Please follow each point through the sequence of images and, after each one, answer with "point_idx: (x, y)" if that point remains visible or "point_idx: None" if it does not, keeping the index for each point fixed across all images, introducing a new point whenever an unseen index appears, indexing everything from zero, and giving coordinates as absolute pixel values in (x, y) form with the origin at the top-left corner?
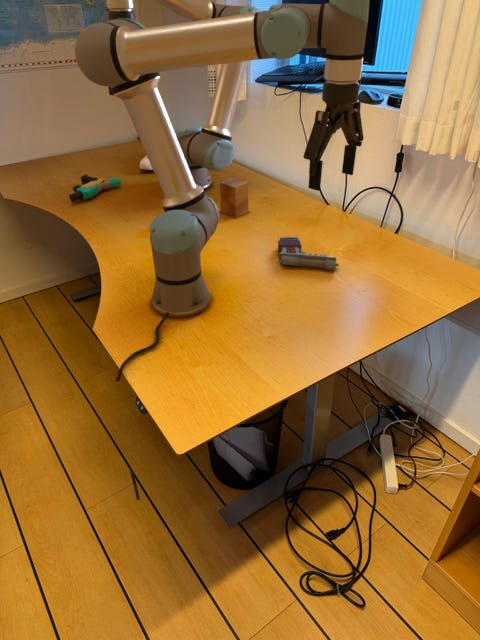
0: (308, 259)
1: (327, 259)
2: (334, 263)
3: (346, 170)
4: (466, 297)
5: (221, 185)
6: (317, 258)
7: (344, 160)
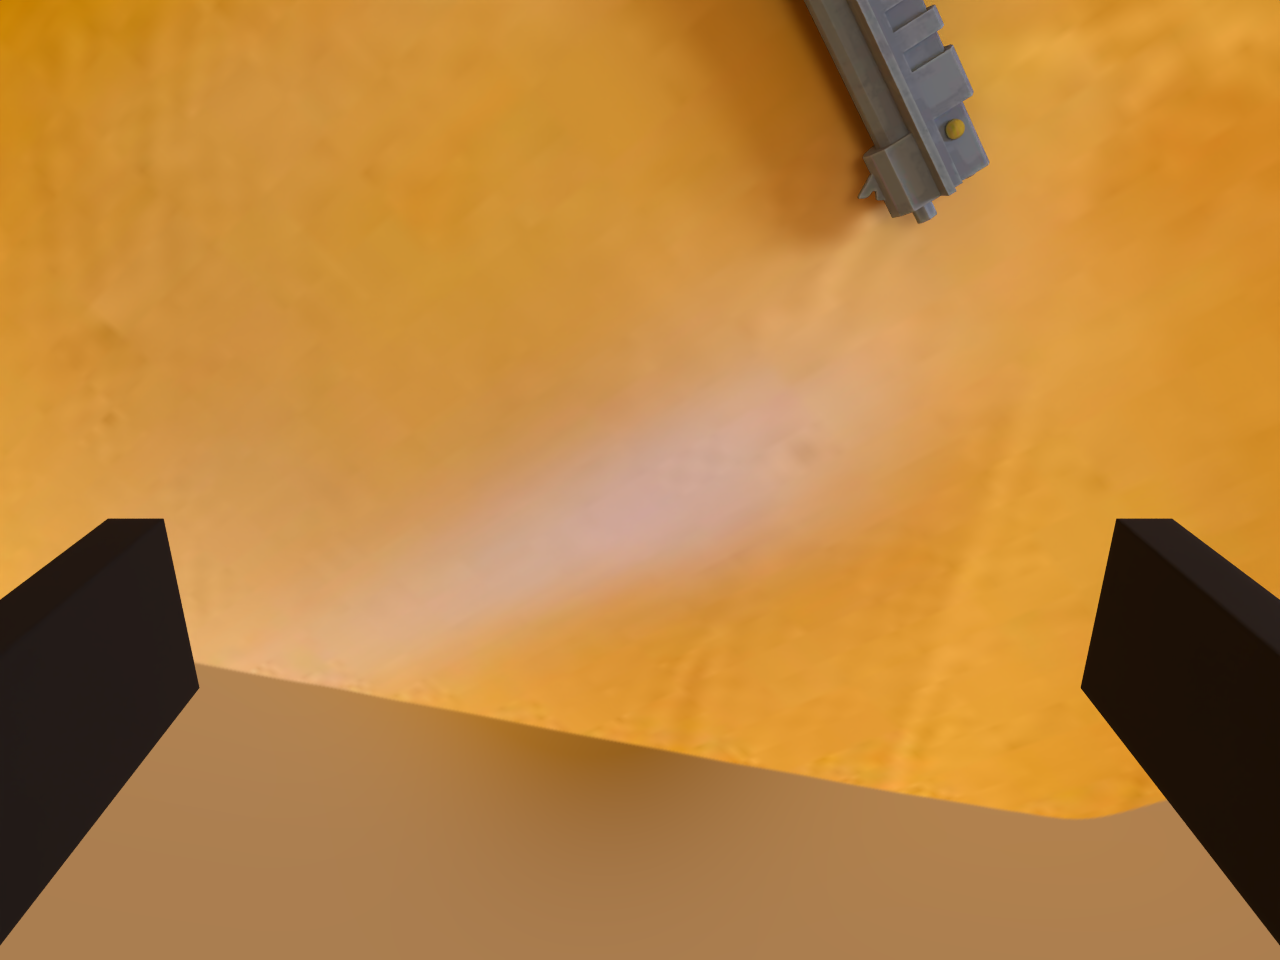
0: (845, 16)
1: (915, 141)
2: (903, 206)
3: (1131, 627)
4: (1046, 807)
5: None
6: (884, 73)
7: (1255, 664)
